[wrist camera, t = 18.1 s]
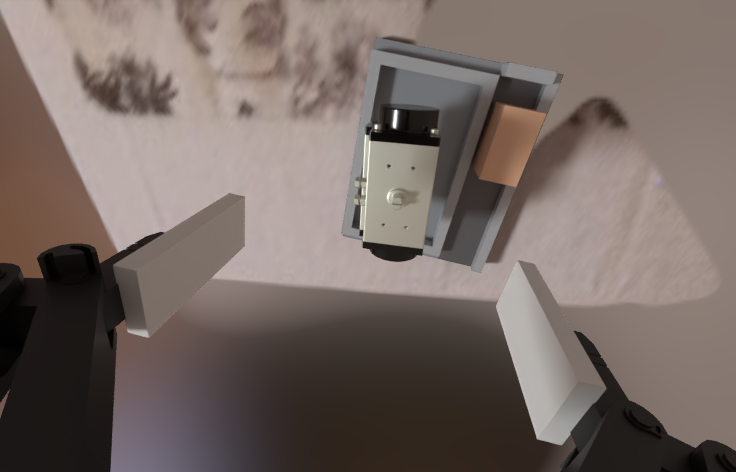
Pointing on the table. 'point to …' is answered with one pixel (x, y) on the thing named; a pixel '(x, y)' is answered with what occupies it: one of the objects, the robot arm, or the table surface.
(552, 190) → the table surface
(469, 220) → the grey tray
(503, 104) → the tan cardboard box
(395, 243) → the pneumatic valve
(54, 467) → the robot arm
